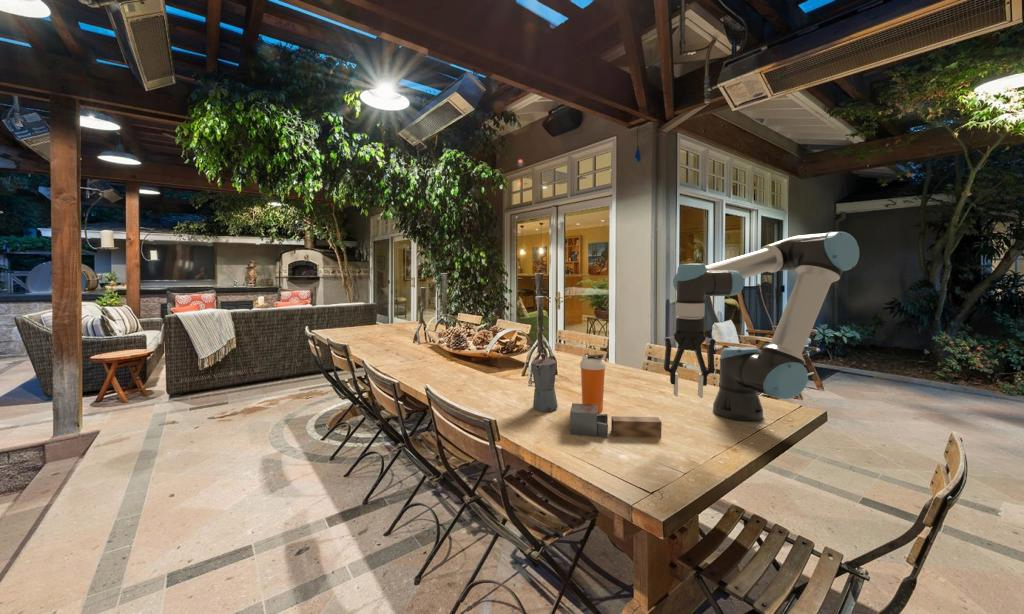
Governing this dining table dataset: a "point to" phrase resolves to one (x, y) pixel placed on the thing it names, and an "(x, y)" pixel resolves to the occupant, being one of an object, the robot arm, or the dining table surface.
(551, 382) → the moka pot
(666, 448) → the dining table surface
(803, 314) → the robot arm
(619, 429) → the brown wooden block
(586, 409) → the end cap
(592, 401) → the shaker bottle
